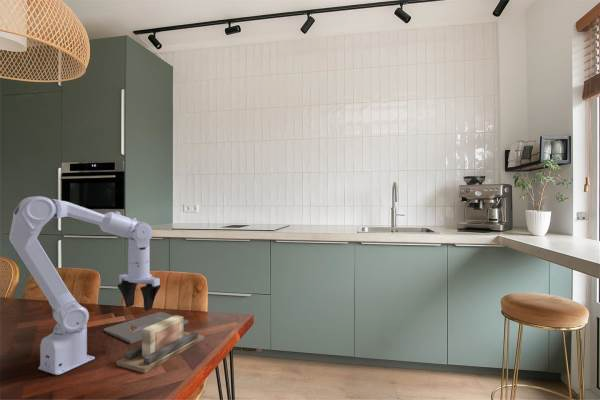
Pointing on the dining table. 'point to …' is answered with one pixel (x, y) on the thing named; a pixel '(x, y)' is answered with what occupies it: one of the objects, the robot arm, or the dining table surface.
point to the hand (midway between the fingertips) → (139, 307)
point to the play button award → (125, 328)
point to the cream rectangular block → (162, 334)
